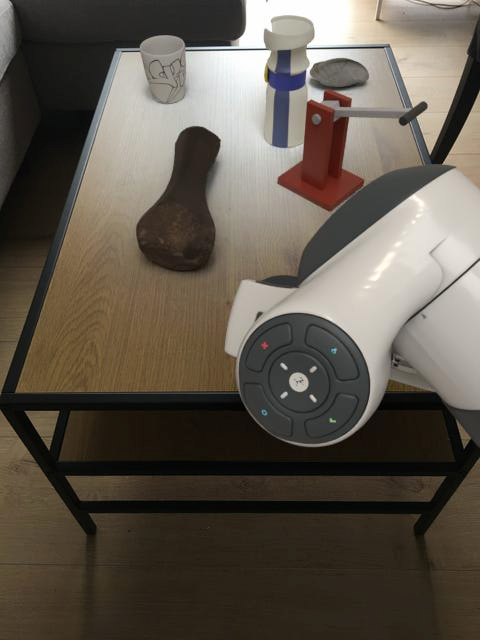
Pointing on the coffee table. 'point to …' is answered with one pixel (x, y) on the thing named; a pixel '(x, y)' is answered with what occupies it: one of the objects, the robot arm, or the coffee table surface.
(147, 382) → the coffee table surface
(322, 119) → the bracket
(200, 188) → the dark brown bone
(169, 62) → the mug
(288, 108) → the water bottle
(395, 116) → the lever
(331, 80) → the seashell
